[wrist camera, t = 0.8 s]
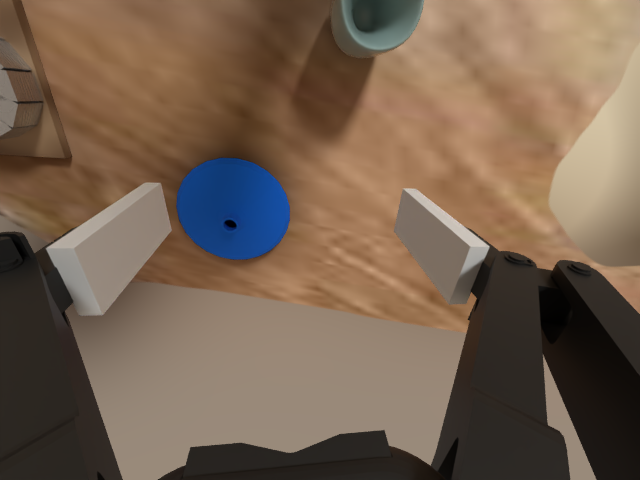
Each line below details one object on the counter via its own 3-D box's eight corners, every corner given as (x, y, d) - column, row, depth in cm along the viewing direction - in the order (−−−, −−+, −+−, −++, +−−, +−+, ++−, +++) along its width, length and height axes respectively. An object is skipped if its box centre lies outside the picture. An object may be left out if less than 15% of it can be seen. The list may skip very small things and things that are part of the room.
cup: (326, 64, 34) (340, 54, 25) (323, -19, 30) (338, -63, 22) (386, 61, 35) (420, 50, 26) (391, -21, 31) (432, -65, 22)
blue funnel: (309, 214, 44) (313, 235, 38) (235, 266, 47) (227, 292, 41) (241, 129, 37) (232, 136, 31) (159, 196, 40) (136, 215, 34)
